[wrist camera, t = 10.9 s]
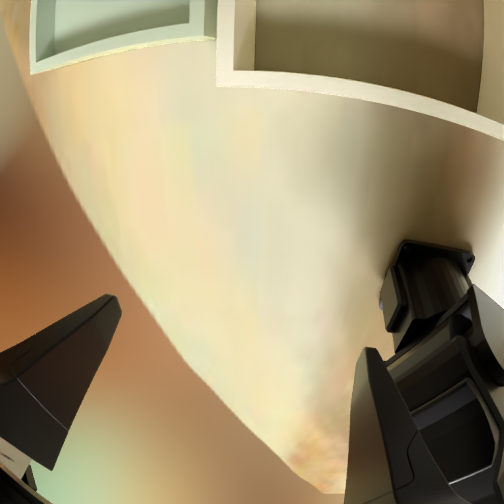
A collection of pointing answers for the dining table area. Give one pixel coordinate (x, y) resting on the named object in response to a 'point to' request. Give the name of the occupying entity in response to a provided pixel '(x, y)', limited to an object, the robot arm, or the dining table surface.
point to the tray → (112, 28)
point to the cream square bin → (243, 75)
